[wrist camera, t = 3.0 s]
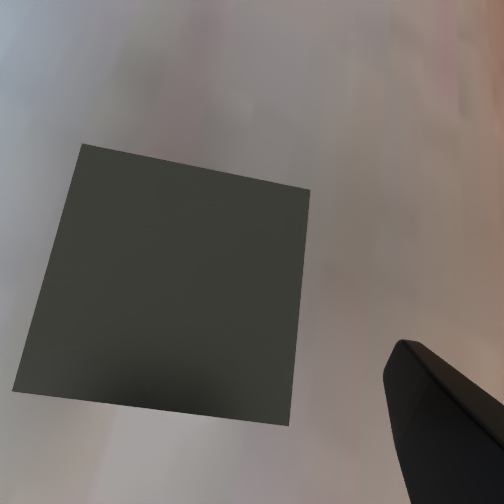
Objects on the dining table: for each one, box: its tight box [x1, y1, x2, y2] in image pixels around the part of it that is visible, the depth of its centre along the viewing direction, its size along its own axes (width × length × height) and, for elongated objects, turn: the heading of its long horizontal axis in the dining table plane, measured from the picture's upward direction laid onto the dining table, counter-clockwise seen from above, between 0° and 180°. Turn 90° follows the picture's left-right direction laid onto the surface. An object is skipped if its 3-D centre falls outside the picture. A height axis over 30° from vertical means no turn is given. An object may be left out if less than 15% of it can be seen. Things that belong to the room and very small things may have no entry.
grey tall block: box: [12, 144, 310, 426], centre depth 13 cm, size 4×4×10 cm
